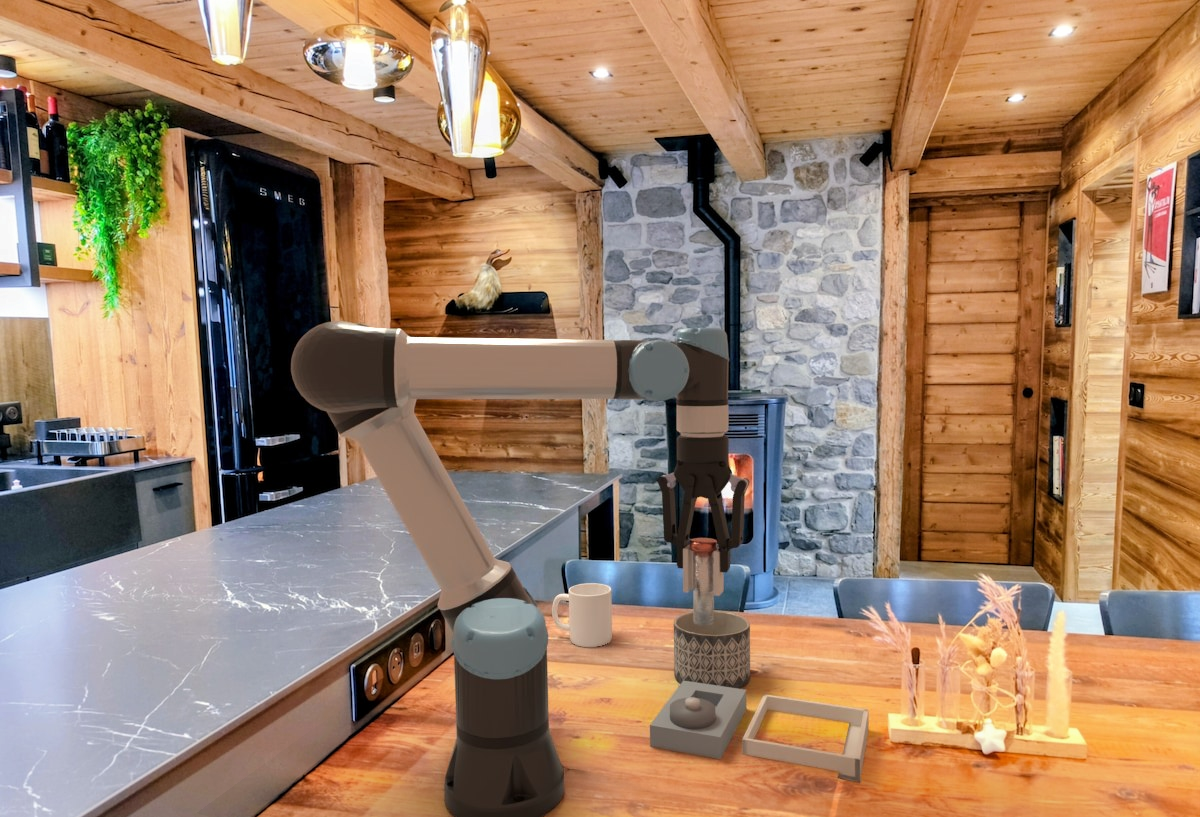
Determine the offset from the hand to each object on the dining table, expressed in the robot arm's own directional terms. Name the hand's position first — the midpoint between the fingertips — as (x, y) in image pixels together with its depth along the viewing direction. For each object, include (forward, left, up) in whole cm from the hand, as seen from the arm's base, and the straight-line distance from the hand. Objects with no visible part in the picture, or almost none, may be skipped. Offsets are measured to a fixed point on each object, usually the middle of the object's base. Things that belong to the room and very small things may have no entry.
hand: (703, 591), depth 116 cm
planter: (+15, +3, -21) cm, 26 cm away
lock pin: (0, 0, -5) cm, 5 cm away
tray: (-1, -15, -20) cm, 25 cm away
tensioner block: (-3, 0, -20) cm, 20 cm away
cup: (+26, +32, -21) cm, 46 cm away
